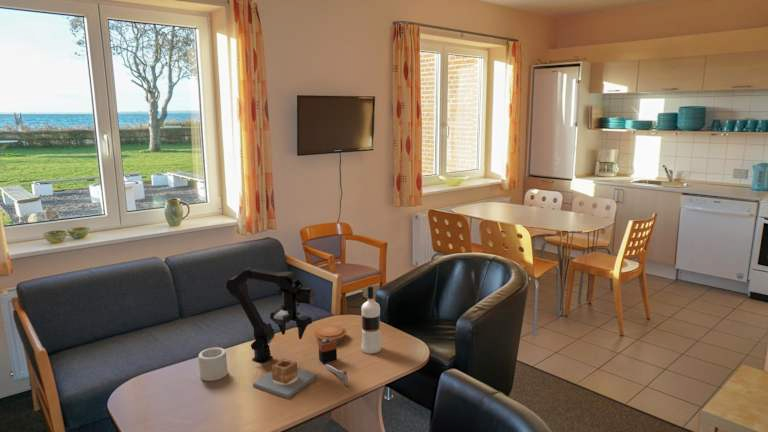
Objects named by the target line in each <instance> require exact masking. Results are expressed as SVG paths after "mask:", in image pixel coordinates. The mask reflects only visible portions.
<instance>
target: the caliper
mask: <svg viewBox="0 0 768 432" xmlns="http://www.w3.org/2000/svg"><path fill="white" fill-rule="evenodd" d="M324 367H325V368H326V369H327V370H328V371H331V372H332V373H334V374H335V375H337V377H338V378H339V379H341V380H342V384H343V386H345V387H348V386H349V378H348V377H349V376H348V374H347V371H346V370H341V369H337V368H336V367H334V366H332V365H330V364H329V363H326V364H324Z"/></svg>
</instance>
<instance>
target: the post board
mask: <svg viewBox="0 0 768 432" xmlns="http://www.w3.org/2000/svg"><path fill="white" fill-rule="evenodd" d="M297 371H298V376H297V377H296V378H294V379H293V380H291V381H290V382H288V383H287V384H285V383H282V382H279V381H275V380H273V377H272V370H271V371H270V372H268V373H266V374H265V375H263V376H261V377H260V378H258V379H256V380H255V381H253V382H252V387H254V388H256V389H260V390H262V391H265V392H268V393H271V394H273V395H276V396H280V397H283V398H285V399H290V398H291V397H292V396H294V395H295V394H297V393H298V392H300V391H301V390H303V389H304V388H305V387H307V386H308V385H309V384H311V383H312V382H314V381H315V380H316V379H318V373H314V372H311V371H309V370H308V371H307V370H305V369H301V368H298V367H297Z"/></svg>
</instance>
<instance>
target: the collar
mask: <svg viewBox="0 0 768 432" xmlns="http://www.w3.org/2000/svg"><path fill="white" fill-rule="evenodd" d="M297 368H298V362H297V361H294V360H290V359H287V358H282V359H280V360H279V361H277V362H275V363H274V364H272V365H271V371H272V377H273V380H275V381H279V382H282V383H285V384H287V383H288V382H290V381H291V380H293V379H294V378H296V377H297V376H298V371H297Z"/></svg>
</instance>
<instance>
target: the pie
mask: <svg viewBox="0 0 768 432" xmlns="http://www.w3.org/2000/svg"><path fill="white" fill-rule="evenodd" d="M346 334H347V329H346V327H345V328H344V327H342V326H339V325H335V324H328V325H322V326H320V327H318V328H317V329H315V330H314V331H313V335H314V337H315V338H316V339H317V341H318V342H319V341H321V340H322V339H329V338H333V339H334V340H335V341H336V344H338V343H340V342H341V341H342V340H343V338H344V337H345V336H346Z"/></svg>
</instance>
